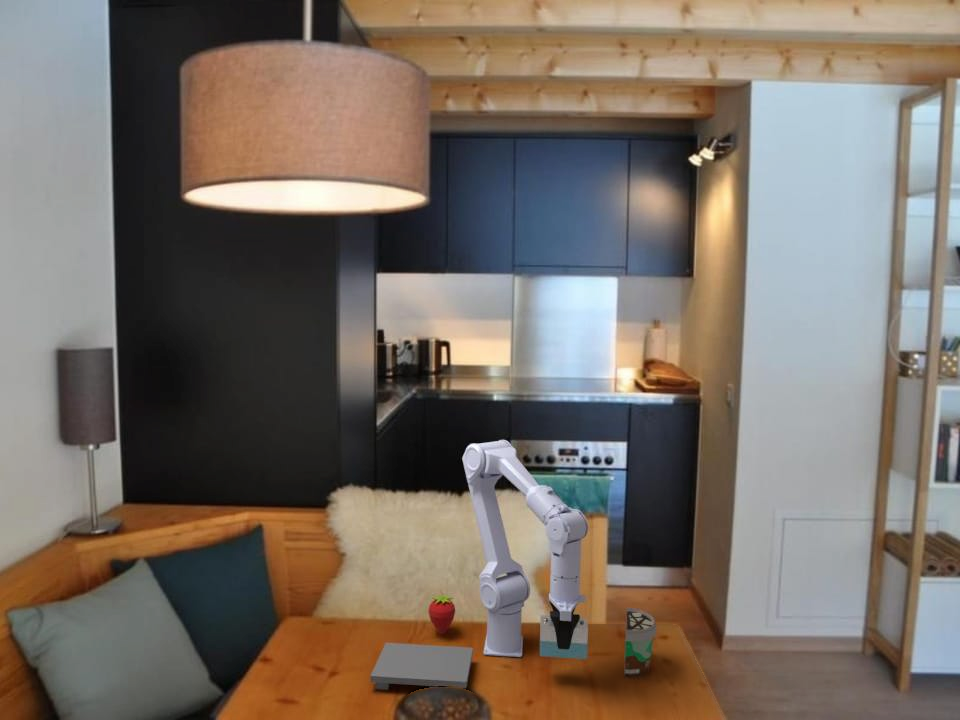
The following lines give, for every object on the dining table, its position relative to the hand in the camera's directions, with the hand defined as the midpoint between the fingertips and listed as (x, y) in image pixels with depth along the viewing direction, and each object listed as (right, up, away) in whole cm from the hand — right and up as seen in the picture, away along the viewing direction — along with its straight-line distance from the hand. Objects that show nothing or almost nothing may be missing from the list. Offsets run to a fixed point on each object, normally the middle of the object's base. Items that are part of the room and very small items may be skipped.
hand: (563, 641), depth 144 cm
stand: (-27, -7, +1) cm, 28 cm away
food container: (+16, -8, +6) cm, 19 cm away
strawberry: (-25, -6, +19) cm, 32 cm away
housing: (0, -2, 0) cm, 2 cm away
